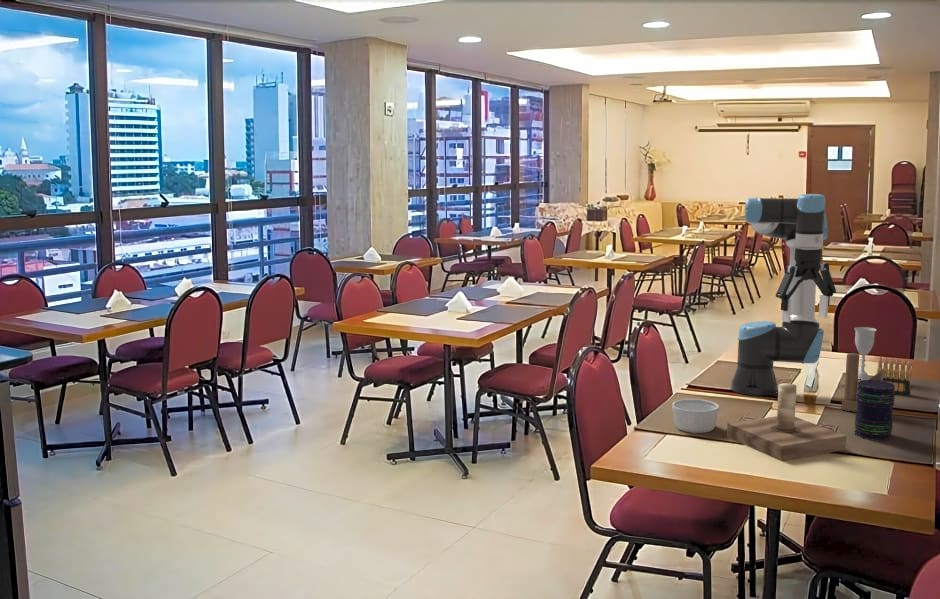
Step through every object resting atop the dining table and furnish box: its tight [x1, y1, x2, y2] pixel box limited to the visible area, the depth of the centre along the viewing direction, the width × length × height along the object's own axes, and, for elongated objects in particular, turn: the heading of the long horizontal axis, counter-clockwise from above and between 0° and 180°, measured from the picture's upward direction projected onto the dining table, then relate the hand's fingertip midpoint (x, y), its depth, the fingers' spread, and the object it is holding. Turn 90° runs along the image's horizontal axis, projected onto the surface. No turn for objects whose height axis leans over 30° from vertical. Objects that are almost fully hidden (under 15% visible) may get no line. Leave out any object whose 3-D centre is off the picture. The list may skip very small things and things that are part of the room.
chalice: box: [853, 326, 877, 381], centre depth 320 cm, size 7×7×18 cm
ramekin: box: [671, 398, 720, 434], centre depth 264 cm, size 13×13×7 cm
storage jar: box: [854, 380, 896, 441], centre depth 256 cm, size 10×10×15 cm
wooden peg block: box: [841, 352, 884, 413], centre depth 278 cm, size 4×11×18 cm, turn 53°
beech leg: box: [776, 382, 797, 432], centre depth 249 cm, size 5×5×16 cm
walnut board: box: [726, 415, 847, 462], centre depth 250 cm, size 22×22×4 cm
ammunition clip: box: [876, 356, 912, 396], centre depth 301 cm, size 11×2×12 cm, turn 56°
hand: (804, 319), depth 266 cm, fingers open, 13 cm apart
